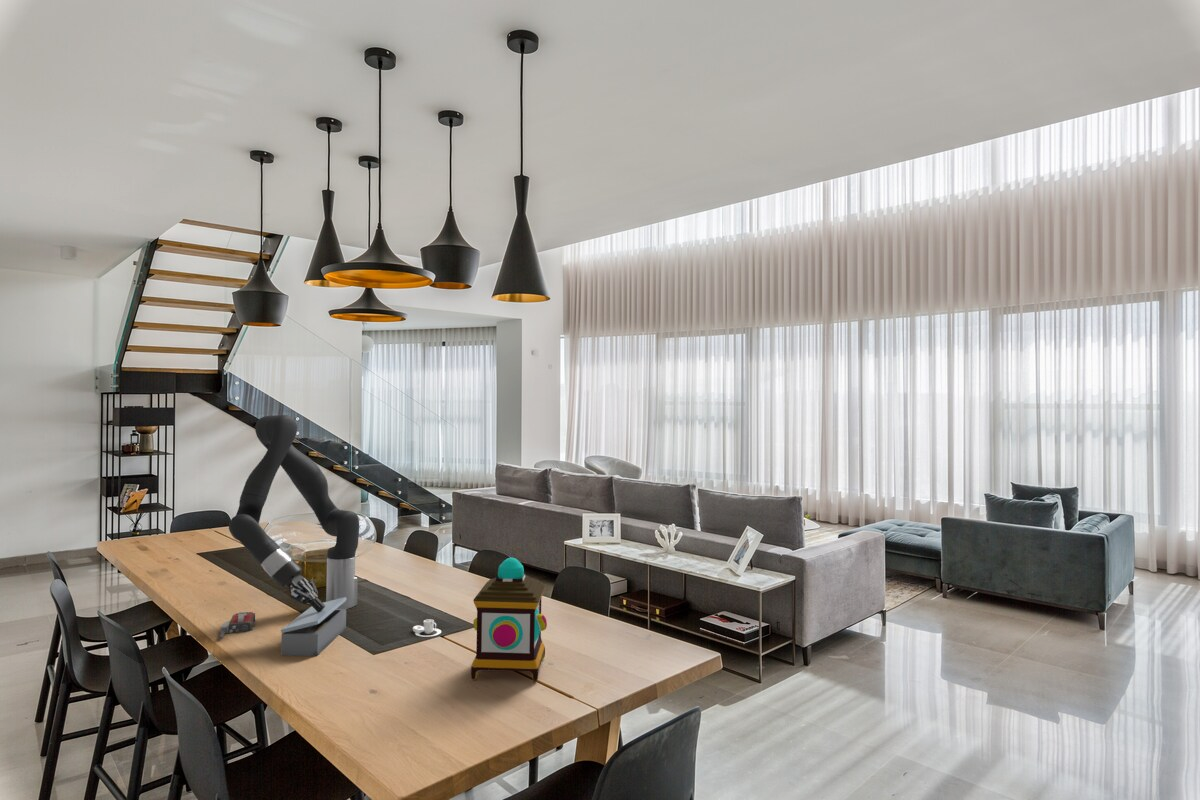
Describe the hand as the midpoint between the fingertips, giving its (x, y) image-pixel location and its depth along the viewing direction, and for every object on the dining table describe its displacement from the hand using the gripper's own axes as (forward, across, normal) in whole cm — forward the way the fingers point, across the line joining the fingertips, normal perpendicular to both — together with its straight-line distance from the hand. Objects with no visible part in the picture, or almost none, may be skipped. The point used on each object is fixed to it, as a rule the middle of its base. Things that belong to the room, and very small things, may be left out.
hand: (322, 609), depth 207 cm
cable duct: (+5, 0, +8) cm, 10 cm away
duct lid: (0, 0, +3) cm, 3 cm away
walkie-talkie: (-14, +10, +28) cm, 33 cm away
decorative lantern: (+48, -21, -34) cm, 62 cm away
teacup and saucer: (+28, +12, -14) cm, 33 cm away
